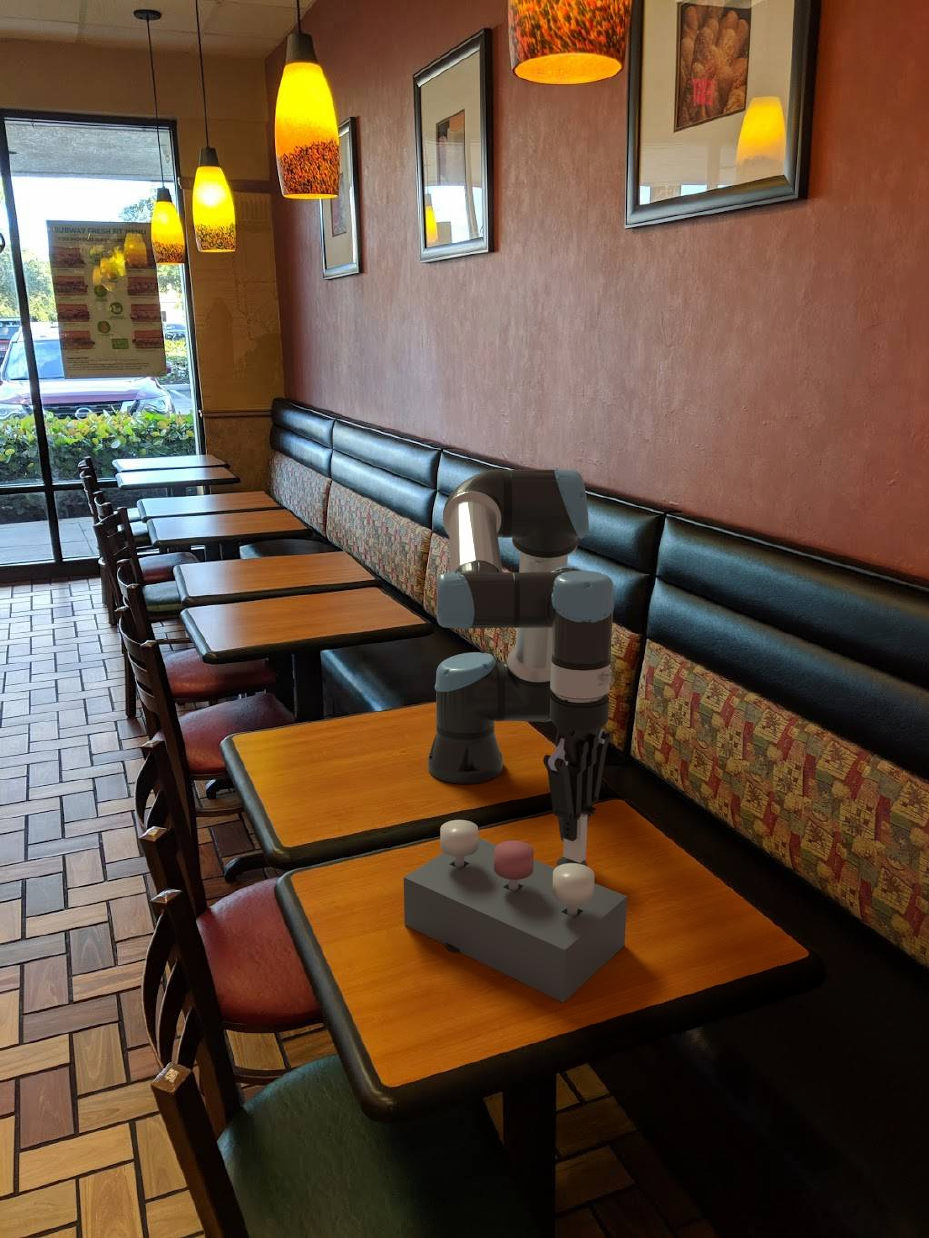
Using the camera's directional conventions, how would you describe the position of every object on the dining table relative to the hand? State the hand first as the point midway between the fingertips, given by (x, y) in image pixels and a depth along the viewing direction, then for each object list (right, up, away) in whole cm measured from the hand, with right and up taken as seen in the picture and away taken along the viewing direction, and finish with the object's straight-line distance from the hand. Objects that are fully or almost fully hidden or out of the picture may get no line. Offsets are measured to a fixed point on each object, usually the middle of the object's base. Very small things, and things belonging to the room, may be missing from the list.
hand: (574, 857), depth 131 cm
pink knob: (-8, -8, +9) cm, 14 cm away
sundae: (+3, -9, +30) cm, 31 cm away
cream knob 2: (0, -10, +3) cm, 10 cm away
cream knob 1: (-16, -6, +15) cm, 23 cm away
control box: (-8, -14, +11) cm, 19 cm away
